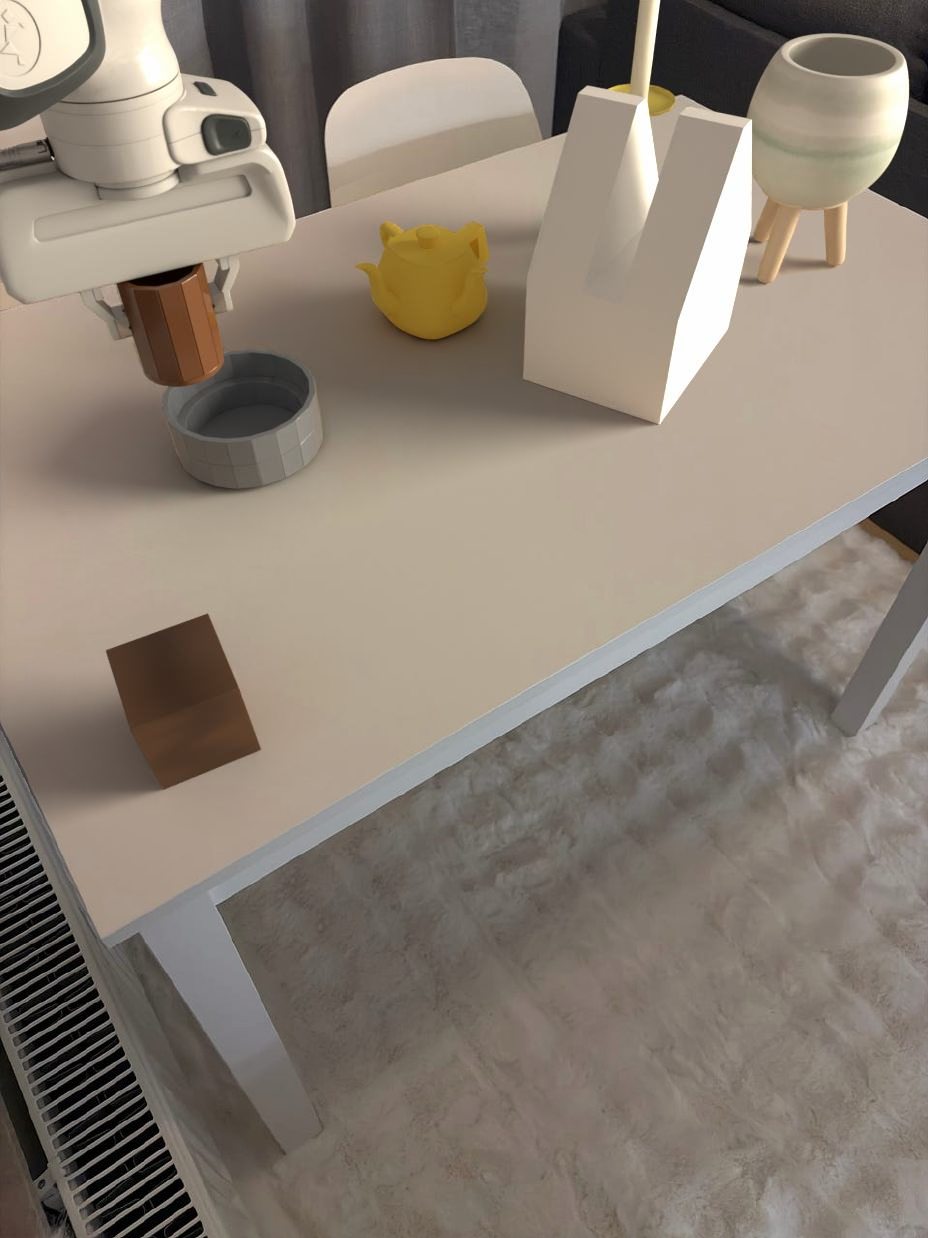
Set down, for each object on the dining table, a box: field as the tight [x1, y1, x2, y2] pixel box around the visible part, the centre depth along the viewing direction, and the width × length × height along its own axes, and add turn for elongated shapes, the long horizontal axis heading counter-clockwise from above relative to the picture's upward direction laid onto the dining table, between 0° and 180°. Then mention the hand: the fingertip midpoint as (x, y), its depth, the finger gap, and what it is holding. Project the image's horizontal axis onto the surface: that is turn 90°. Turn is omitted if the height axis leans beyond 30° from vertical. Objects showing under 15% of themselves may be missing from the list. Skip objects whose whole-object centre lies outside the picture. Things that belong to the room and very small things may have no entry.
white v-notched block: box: [522, 85, 752, 425], centre depth 89 cm, size 19×15×25 cm
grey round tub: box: [161, 348, 324, 490], centre depth 88 cm, size 14×14×6 cm
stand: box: [105, 613, 262, 790], centre depth 66 cm, size 7×7×8 cm
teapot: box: [354, 220, 491, 340], centre depth 100 cm, size 14×13×10 cm
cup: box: [114, 262, 225, 387], centre depth 68 cm, size 6×6×8 cm
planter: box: [745, 33, 910, 284], centre depth 101 cm, size 16×16×22 cm
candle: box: [607, 0, 676, 118], centre depth 103 cm, size 10×10×32 cm
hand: (172, 321), depth 68 cm, fingers closed on cup, 6 cm apart
